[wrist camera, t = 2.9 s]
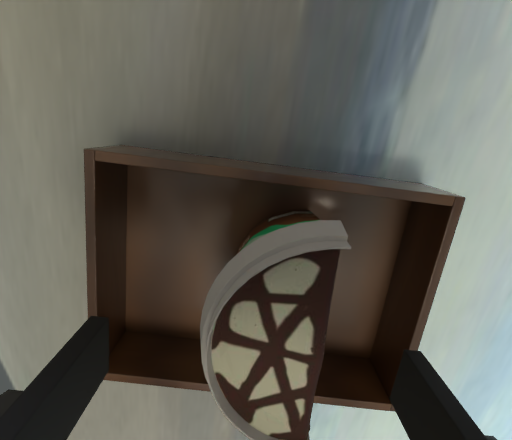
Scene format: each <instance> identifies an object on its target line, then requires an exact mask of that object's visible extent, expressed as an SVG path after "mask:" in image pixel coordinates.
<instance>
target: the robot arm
mask: <svg viewBox="0 0 512 440" xmlns="http://www.w3.org/2000/svg"><path fill="white" fill-rule="evenodd" d="M108 371H109V318H107V317H98V316H90V317H89V319H88V320H87V321H86V322H85V323H84V324H83V325H82V326H81V328H80V329H79V330H78V331H77V332H76V333H75V334H74V335H73V336H72V338H71V339H70V340H69V341H68V342H67V343H66V344H65V345H64V347H63V348H62V349H61V350H60V351H59V352H58V353H57V354H56V356H55V357H54V358H53V359H52V360H51V361H50V362H49V363H48V364H47V366H46V367H45V368H44V369H43V370H42V371H41V372H40V373H39V375H38V376H37V377H36V378H35V379H34V380H33V381H32V382H31V384H30V385H29V386H28V387H27V388H26V389H25V390H24V391H18V390H7V391H6V392H4V393H3V394H1V395H0V440H66V439H67V438H68V436H69V435H70V433H71V431H72V430H73V428H74V426H75V425H76V423H77V421H78V420H79V418H80V417H81V415H82V413H83V412H84V410H85V408H86V407H87V405H88V404H89V402H90V400H91V399H92V397H93V395H94V394H95V392H96V391H97V389H98V387H99V386H100V384H101V382H102V381H103V379H104V377H105V376H106V374H107V373H108ZM389 399H390V401H391V403H392V405H393V407H394V409H395V411H396V413H397V415H398V417H399V419H400V421H401V423H402V425H403V427H404V429H405V431H406V433H407V435H408V437H409V439H410V440H497V439H496V438H495V437H493V436H485V435H484V434H483V433H482V432H481V431H480V429H479V428H478V427H477V425H476V424H475V423H474V421H473V420H472V419H471V417H470V416H469V415H468V413H467V412H466V411H465V409H464V408H463V407H462V405H461V404H460V403H459V401H458V400H457V399H456V397H455V396H454V395H453V393H452V392H451V391H450V389H449V388H448V387H447V385H446V384H445V383H444V381H443V380H442V379H441V377H440V376H439V375H438V373H437V372H436V371H435V370H434V368H433V367H432V366H431V364H430V363H429V362H428V360H427V359H426V358H425V356H424V355H423V354H422V352H421V351H414V350H404V352H403V355H402V358H401V362H400V365H399V368H398V372H397V375H396V378H395V381H394V385H393V388H392V391H391V395H390V398H389Z"/></svg>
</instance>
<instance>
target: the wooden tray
mask: <svg viewBox="0 0 512 440" xmlns="http://www.w3.org/2000/svg"><path fill="white" fill-rule="evenodd" d="M84 172H85V214H86V256H87V298H88V319H89V317H90V316H98V317H107V318H109V371H108V373H107V374H106V376H105V377H104V379H103V380H110V381H119V382H128V383H137V384H146V385H156V386H165V387H174V388H183V389H192V390H201V391H210V388H209V385H208V383H207V380H206V378H205V374H204V370H203V365H202V359H201V339H200V322H201V315H202V309H203V306H204V303H205V300H206V297H207V294H208V292H209V290H210V288H211V286H212V284H213V283H214V281H215V279H216V277H217V276H218V275H219V273H220V272H221V271H222V270H223V268H224V267H225V266H226V264H227V263H228V262H229V261H230V260H231V259H232V258H233V257H235V256H236V255H237V252H238V250H239V247H240V245H241V242H242V241H243V239H244V238H245V237H246V236H247V235H248V233H249V232H250V231H251V230H252V229H253V227H254V226H256V225H257V224H259V223H261V222H262V221H264V220H265V219H267V218H268V217H270V216H272V215H275V214H279V213H283V212H286V211H290V210H310V211H311V212H312V213H313V214H314V215H316V216H317V217H318V218H319V219H320V220H341V222H342V224H343V226H344V229H345V231H346V233H347V235H348V239H347V242H348V243H349V245H350V246H351V249H340V254H339V260H338V266H337V272H336V278H335V283H334V289H333V295H332V301H331V307H330V314H329V320H328V327H327V335H326V343H325V350H324V357H323V362H322V366H321V370H320V374H319V378H318V382H317V387H316V392H315V396H314V402H313V403H321V404H330V405H339V406H348V407H357V408H366V409H375V410H385V411H395V409H394V407H393V405H392V403H391V401H390V399H389V398H390V395H391V391H392V388H393V385H394V381H395V378H396V375H397V372H398V368H399V365H400V362H401V358H402V355H403V352H404V350H414V351H417V350H418V347H419V344H420V341H421V338H422V334H423V331H424V328H425V325H426V322H427V319H428V315H429V312H430V309H431V306H432V303H433V300H434V296H435V293H436V290H437V287H438V284H439V281H440V277H441V274H442V271H443V268H444V265H445V262H446V258H447V255H448V252H449V249H450V246H451V243H452V239H453V236H454V233H455V230H456V227H457V224H458V220H459V217H460V214H461V211H462V208H463V205H464V201H465V197H462V196H459V195H456V194H453V193H450V192H447V191H444V190H440V189H437V188H434V187H431V186H428V185H425V184H421V183H413V182H405V181H397V180H390V179H382V178H374V177H366V176H359V175H351V174H343V173H335V172H328V171H320V170H312V169H304V168H296V167H289V166H281V165H273V164H265V163H258V162H250V161H242V160H234V159H227V158H219V157H211V156H203V155H195V154H188V153H180V152H172V151H164V150H157V149H149V148H141V147H133V146H126V145H117V146H107V147H97V148H86V149H84ZM395 412H396V411H395Z"/></svg>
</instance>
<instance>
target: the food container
mask: <svg viewBox="0 0 512 440" xmlns="http://www.w3.org/2000/svg"><path fill="white" fill-rule="evenodd" d="M347 239H348V235H347V233H346V231H345V229H344V226H343V224H342V222H341V220H320V219H319V218H318V217H317V216H316V215H314V214H313V213H312V212H311V211H310V210H290V211H286V212H283V213H279V214H275V215H272V216H270V217H268V218H267V219H265V220H264V221H262V222H261V223H259V224H257V225H256V226H254V227H253V229H252V230H251V231H250V232H249V233H248V235H247V236H246V237H245V238H244V239H243V241H242V242H241V245H240V247H239V250H238V252H237V255H236V256H235V257H233V258H232V259H231V260H230V261H229V262H228V263H227V264H226V266H225V267H224V268H223V270H222V271H221V272H220V273H219V275H218V276H217V277H216V279H215V281H214V283H213V284H212V286H211V288H210V290H209V292H208V294H207V297H206V300H205V303H204V306H203V309H202V315H201V322H200V339H201V359H202V365H203V370H204V374H205V378H206V380H207V383H208V385H209V388H210V391H211V393H212V395H213V398H214V400H215V402H216V404H217V405H218V407H219V408H220V410H221V411H222V413H223V414H224V416H225V417H226V418H227V419H228V420H229V421H230V422H231V424H232V425H233V426H234V427H235V428H236V429H238V430H239V431H240V432H241V433H243V434H244V435H245V436H246V437H248V438H249V439H251V440H309V430H310V418H311V412H312V407H313V402H314V396H315V392H316V387H317V382H318V378H319V374H320V370H321V366H322V362H323V357H324V350H325V343H326V335H327V327H328V320H329V314H330V307H331V301H332V295H333V289H334V283H335V278H336V272H337V266H338V260H339V254H340V249H351V246H350V245H349V243H348V242H347Z"/></svg>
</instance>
